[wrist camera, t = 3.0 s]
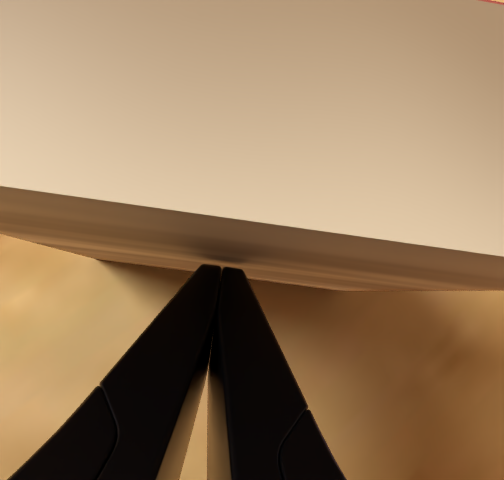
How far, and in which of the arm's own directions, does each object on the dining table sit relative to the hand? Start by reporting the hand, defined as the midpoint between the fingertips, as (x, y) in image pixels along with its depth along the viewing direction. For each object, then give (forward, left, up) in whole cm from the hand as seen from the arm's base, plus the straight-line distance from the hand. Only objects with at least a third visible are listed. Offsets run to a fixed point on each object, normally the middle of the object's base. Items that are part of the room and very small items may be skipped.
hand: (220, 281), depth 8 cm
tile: (+1, -1, -7) cm, 7 cm away
